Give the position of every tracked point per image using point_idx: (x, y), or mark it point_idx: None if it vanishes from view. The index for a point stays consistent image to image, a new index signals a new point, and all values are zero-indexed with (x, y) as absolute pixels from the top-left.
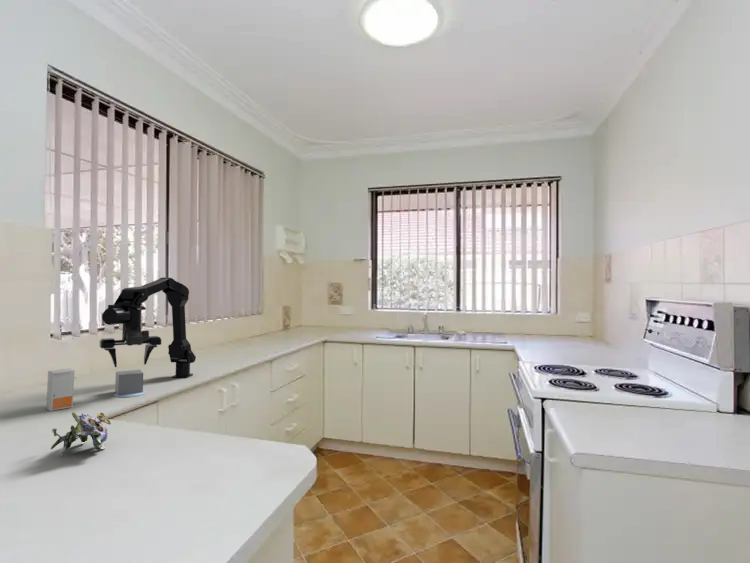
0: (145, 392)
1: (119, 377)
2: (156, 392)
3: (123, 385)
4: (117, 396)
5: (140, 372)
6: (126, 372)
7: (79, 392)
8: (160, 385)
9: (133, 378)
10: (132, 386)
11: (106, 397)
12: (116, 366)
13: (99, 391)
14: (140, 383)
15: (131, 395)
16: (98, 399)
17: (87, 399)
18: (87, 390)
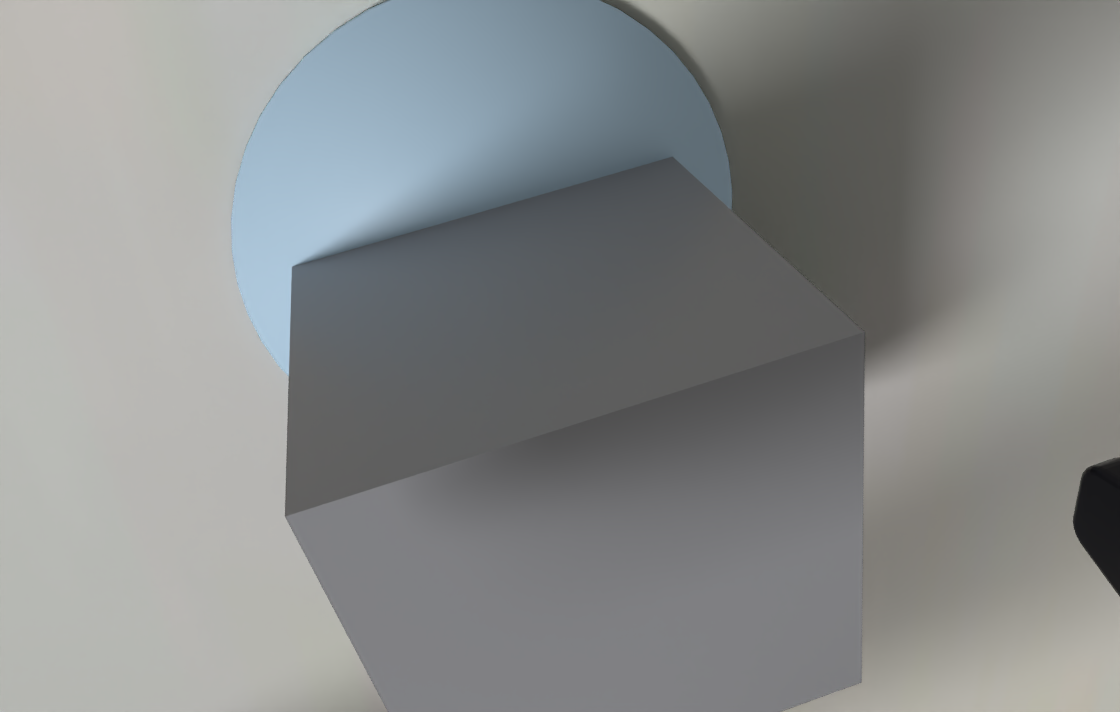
0: (235, 234)
1: (819, 306)
2: (15, 222)
3: (656, 246)
4: (683, 79)
5: (374, 566)
6: (688, 605)
7: (1047, 480)
8: (108, 663)
9: (503, 369)
10: (485, 276)
11: (826, 120)
12: (1102, 476)
13: (869, 483)
14: (340, 341)
15: (458, 74)
16: (937, 21)
17: (1055, 85)
18: (967, 546)
